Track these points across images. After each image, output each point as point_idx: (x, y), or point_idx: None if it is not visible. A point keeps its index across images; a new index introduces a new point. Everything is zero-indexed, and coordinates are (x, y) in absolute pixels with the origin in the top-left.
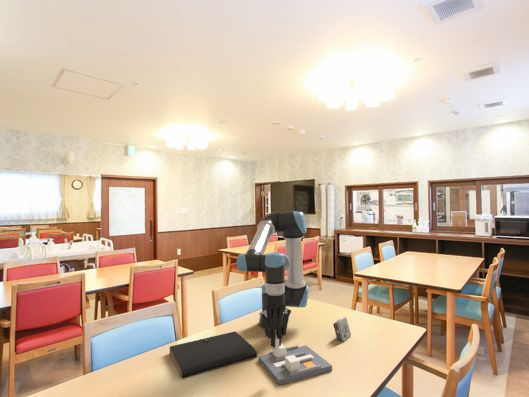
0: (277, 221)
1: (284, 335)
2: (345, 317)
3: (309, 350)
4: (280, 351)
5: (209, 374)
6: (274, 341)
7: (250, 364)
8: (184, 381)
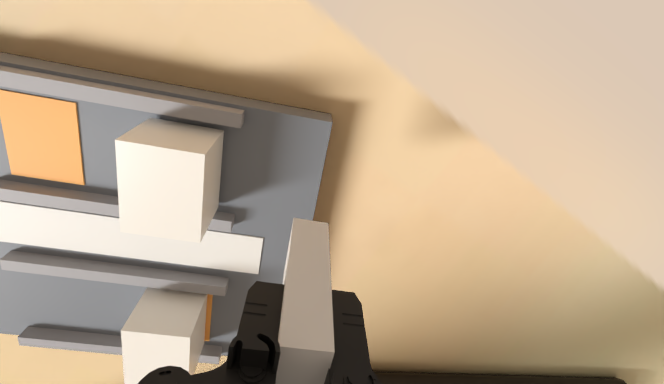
0: None
1: (170, 366)
2: None
3: None
4: (176, 321)
5: (525, 354)
6: (336, 340)
7: None
8: (625, 359)
